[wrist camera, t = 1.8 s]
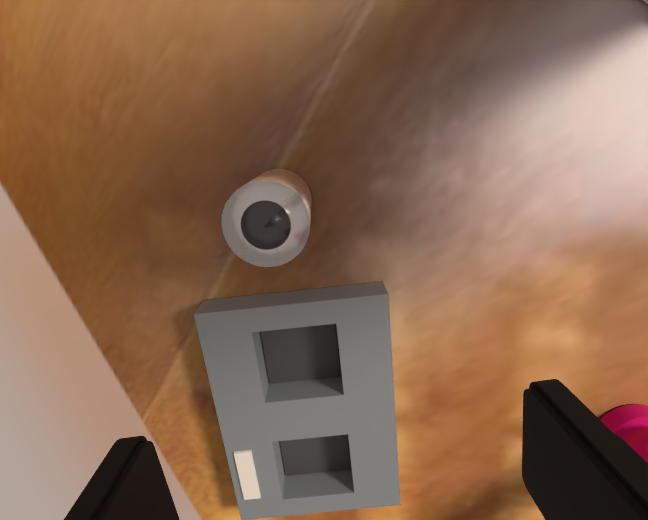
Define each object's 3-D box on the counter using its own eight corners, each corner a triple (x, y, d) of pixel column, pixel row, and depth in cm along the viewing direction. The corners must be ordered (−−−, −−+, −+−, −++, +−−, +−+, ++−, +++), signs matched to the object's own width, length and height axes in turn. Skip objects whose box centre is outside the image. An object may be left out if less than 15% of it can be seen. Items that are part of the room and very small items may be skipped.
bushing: (243, 172, 27) (213, 185, 19) (307, 165, 27) (304, 175, 19) (253, 235, 28) (229, 271, 20) (315, 228, 28) (314, 262, 20)
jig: (203, 300, 30) (192, 315, 27) (382, 281, 29) (388, 295, 27) (246, 494, 36) (241, 522, 33) (394, 480, 35) (401, 506, 33)
